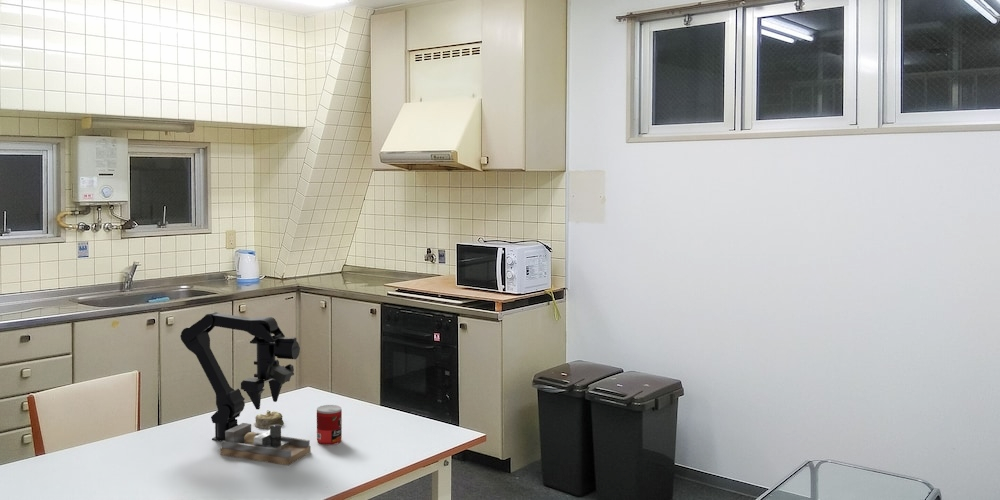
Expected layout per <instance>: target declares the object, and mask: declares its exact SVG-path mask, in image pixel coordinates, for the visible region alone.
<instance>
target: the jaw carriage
mask: <svg viewBox="0 0 1000 500" xmlns="http://www.w3.org/2000/svg"><path fill="white" fill-rule="evenodd" d="M261 433H262V434H259V435H257V436H255V437H254V445H257V446H264V447H270V448H277V449H282V448H284V447H286V446H288V445H289V442H288V441H281V436H282V425H280V424H273V425H271V426H270V428H269V429H268V430H265V431H263V432H261Z"/></svg>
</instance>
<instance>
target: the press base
mask: <svg viewBox="0 0 1000 500" xmlns="http://www.w3.org/2000/svg"><path fill="white" fill-rule="evenodd" d="M249 432H252V423H247V422H242V423H240V424H238V425H237V426H235V427H233V428H231V429H229V430H227V431H225V441H221V448H220V456H227V457H231V458H232V457H233V458H237V459H238V458H240V459H243V460H244V459H245V460H250V461H251V460H252V461H258V462H265V463H269V464H276V465H283V466H289V465H292V464H294V463H295V462H297V461H299V460H301V458H303V457H305V456H307V455H308V454H311V451H312V449H311V444H310V443H311V442H310V439H306V438H305V439H304V438H297V437H289V436H284V435H281V441H288V442H289V445H288V446H286V447H284V448H282V449H277V448H270V447H264V446H257V445H250V444H245V442H244V436H245V435H246V434H247V433H249ZM253 432H254V431H253ZM254 433H255V434H256V435H259V434H262V433H263V432H261V433H260V432H254Z"/></svg>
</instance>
